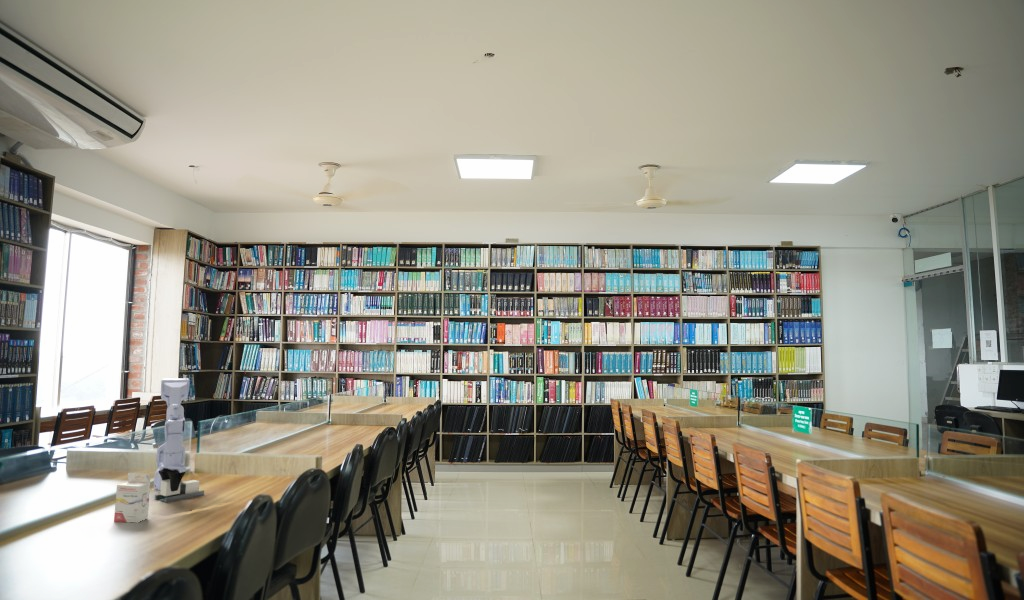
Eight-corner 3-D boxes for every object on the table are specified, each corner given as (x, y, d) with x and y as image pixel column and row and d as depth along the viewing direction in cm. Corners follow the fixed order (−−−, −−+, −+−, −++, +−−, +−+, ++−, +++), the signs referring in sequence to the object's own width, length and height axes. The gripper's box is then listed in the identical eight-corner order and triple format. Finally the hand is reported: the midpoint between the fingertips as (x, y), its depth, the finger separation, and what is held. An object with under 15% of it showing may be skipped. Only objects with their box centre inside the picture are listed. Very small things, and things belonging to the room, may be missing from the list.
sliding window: (153, 502, 212) (154, 495, 212) (191, 494, 224) (191, 487, 224) (167, 505, 207) (167, 498, 208) (204, 497, 219) (205, 490, 219)
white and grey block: (198, 494, 220) (199, 481, 220) (183, 497, 215) (184, 483, 215) (192, 493, 222) (193, 479, 222) (177, 496, 217) (178, 482, 217)
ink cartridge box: (112, 522, 187) (116, 475, 189) (124, 517, 192) (127, 472, 193) (137, 523, 186) (140, 476, 188) (148, 518, 191) (151, 473, 193)
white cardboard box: (160, 494, 212) (160, 480, 212) (175, 491, 216) (176, 477, 217) (165, 496, 210) (166, 482, 210) (181, 493, 214) (182, 479, 215)
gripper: (151, 451, 215) (149, 489, 213) (173, 456, 207) (170, 494, 206) (171, 449, 221) (168, 485, 219) (192, 453, 213) (190, 491, 212)
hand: (170, 490), depth 213 cm, fingers closed on white cardboard box, 4 cm apart
